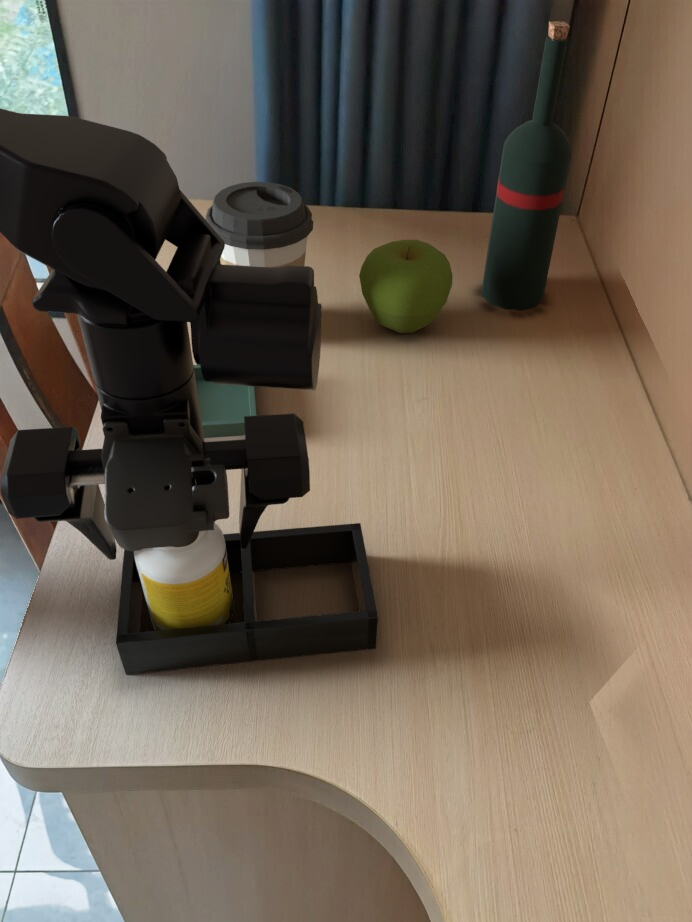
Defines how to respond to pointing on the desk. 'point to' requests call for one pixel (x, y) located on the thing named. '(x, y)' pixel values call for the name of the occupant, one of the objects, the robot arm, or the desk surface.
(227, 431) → the tray
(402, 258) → the apple
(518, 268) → the wine bottle
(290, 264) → the coffee cup
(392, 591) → the desk surface
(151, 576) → the pill bottle
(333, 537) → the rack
